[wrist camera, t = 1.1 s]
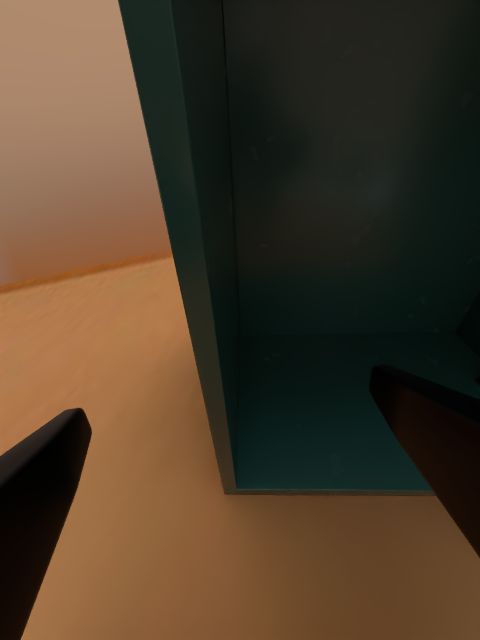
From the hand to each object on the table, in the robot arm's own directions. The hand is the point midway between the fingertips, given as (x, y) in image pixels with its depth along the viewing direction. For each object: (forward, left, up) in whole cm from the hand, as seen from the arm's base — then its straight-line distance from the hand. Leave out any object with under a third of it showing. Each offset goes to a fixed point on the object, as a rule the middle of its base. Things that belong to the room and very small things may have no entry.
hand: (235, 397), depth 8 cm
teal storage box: (+13, -10, -16) cm, 23 cm away
